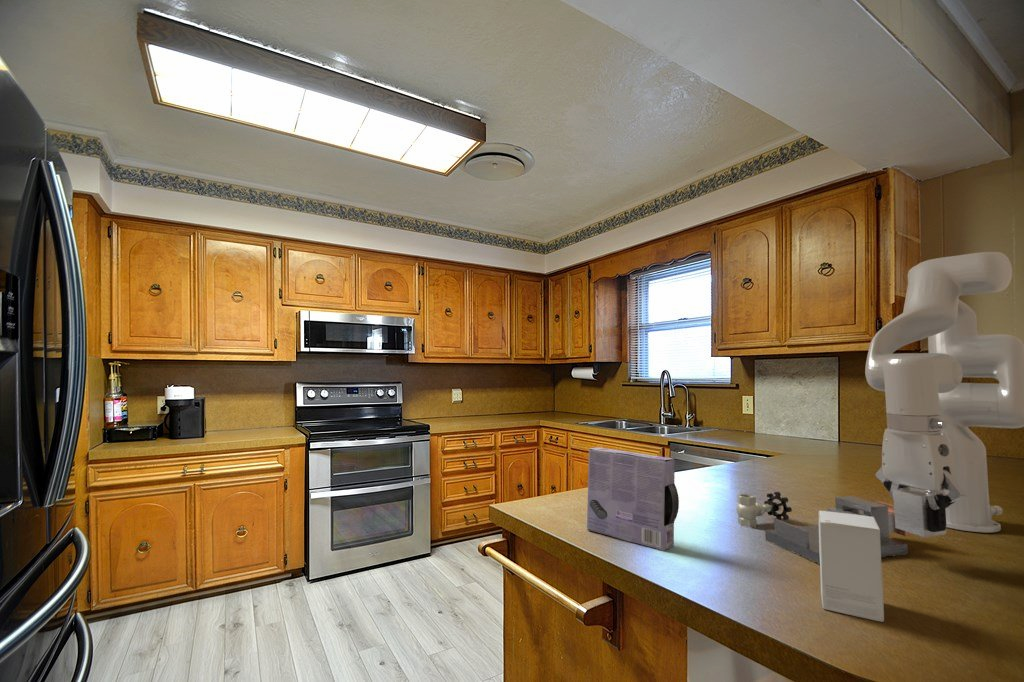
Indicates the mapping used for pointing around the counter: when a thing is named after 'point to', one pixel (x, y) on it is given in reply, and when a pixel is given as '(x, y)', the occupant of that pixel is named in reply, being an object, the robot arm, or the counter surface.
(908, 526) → the block
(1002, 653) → the counter surface
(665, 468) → the cake pan box
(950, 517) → the robot arm
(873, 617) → the supplement box
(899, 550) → the press bed
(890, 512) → the ram
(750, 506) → the valve
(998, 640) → the counter surface
